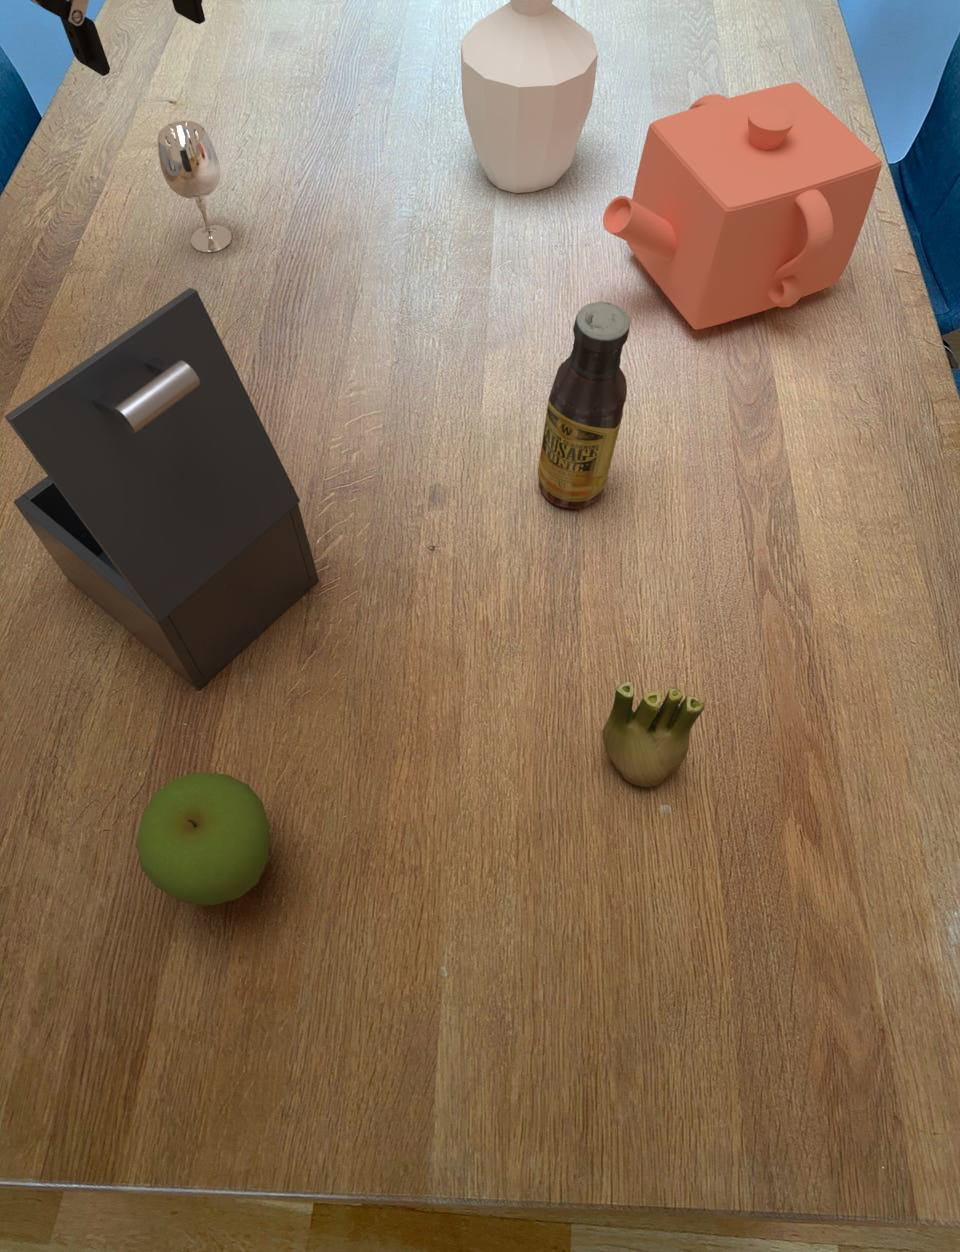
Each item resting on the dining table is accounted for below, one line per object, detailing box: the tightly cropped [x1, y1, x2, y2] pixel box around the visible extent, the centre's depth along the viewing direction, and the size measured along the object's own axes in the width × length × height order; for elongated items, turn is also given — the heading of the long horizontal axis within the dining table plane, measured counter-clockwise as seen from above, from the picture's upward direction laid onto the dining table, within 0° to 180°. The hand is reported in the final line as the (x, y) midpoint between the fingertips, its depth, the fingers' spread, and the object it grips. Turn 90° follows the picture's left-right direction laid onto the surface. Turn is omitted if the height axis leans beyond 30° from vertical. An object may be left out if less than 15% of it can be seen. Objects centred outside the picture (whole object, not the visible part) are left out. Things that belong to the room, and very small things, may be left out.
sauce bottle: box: [537, 301, 631, 510], centre depth 77 cm, size 6×6×20 cm
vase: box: [460, 0, 599, 194], centre depth 98 cm, size 14×14×25 cm
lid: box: [4, 287, 301, 622], centre depth 61 cm, size 18×14×5 cm
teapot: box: [602, 81, 883, 330], centre depth 92 cm, size 25×23×18 cm
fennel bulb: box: [601, 681, 705, 788], centre depth 68 cm, size 6×5×12 cm
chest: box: [13, 475, 320, 692], centre depth 76 cm, size 17×14×11 cm
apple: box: [136, 772, 271, 906], centre depth 63 cm, size 9×8×12 cm
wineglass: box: [157, 120, 233, 253], centre depth 98 cm, size 6×6×12 cm
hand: (144, 42), depth 76 cm, fingers open, 9 cm apart
